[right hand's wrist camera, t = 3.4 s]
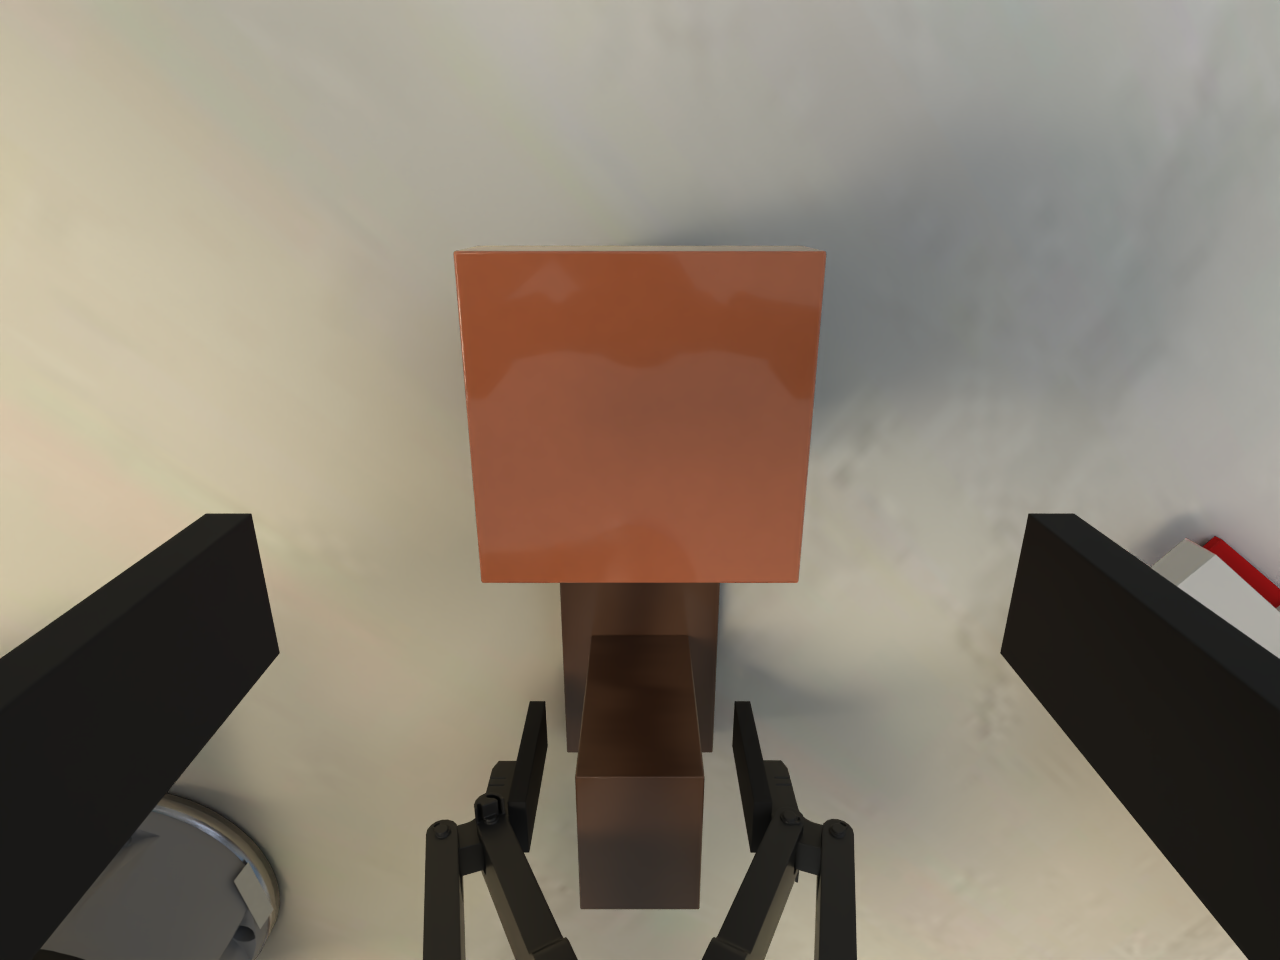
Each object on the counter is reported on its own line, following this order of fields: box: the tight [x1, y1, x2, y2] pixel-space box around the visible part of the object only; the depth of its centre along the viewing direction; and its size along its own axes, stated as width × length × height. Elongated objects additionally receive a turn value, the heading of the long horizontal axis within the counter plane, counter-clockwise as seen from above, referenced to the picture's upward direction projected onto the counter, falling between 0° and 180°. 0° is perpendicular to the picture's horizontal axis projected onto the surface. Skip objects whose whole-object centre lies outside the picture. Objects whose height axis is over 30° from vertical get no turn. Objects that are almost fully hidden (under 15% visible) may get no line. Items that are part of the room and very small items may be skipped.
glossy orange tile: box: [454, 246, 826, 583], centre depth 23 cm, size 10×10×4 cm
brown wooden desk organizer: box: [560, 583, 720, 909], centre depth 32 cm, size 8×26×12 cm, turn 0°
